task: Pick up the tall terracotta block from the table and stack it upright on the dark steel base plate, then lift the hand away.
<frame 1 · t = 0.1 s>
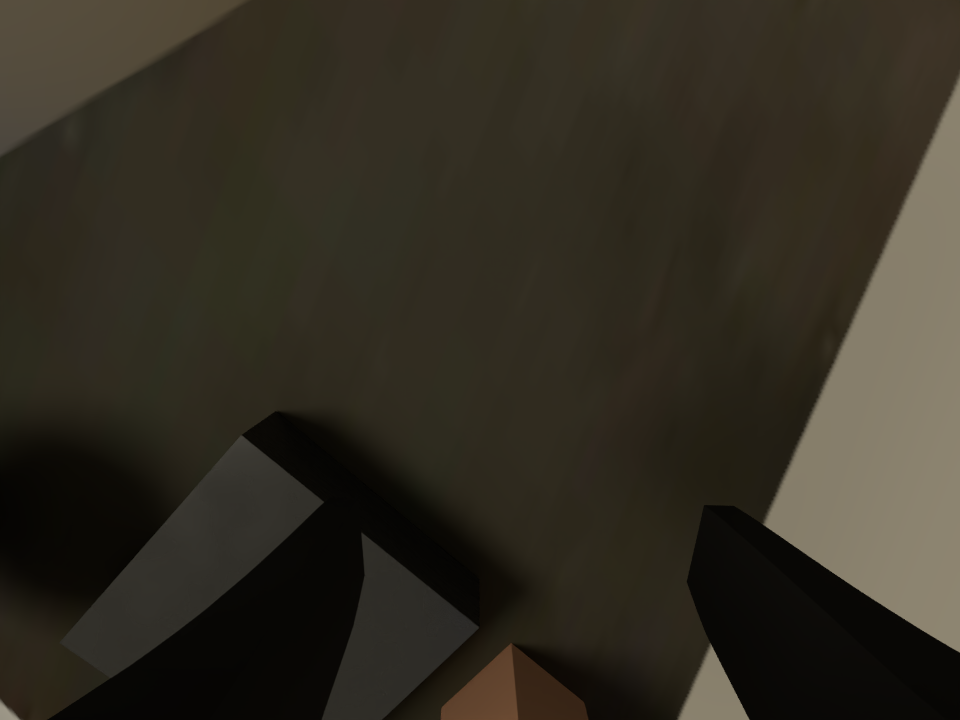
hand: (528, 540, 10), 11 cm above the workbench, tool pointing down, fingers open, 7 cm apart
steel base: (297, 585, 22), on the workbench
terracotta block: (512, 704, 23), on the workbench
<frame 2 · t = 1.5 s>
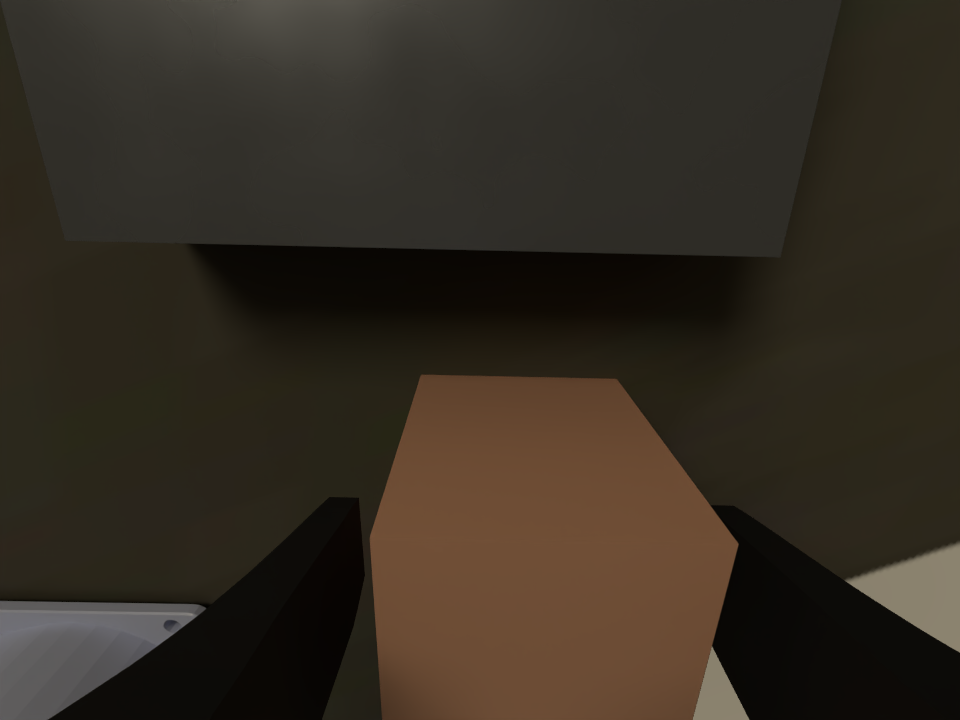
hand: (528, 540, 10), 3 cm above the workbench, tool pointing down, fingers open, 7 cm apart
terracotta block: (514, 460, 13), on the workbench
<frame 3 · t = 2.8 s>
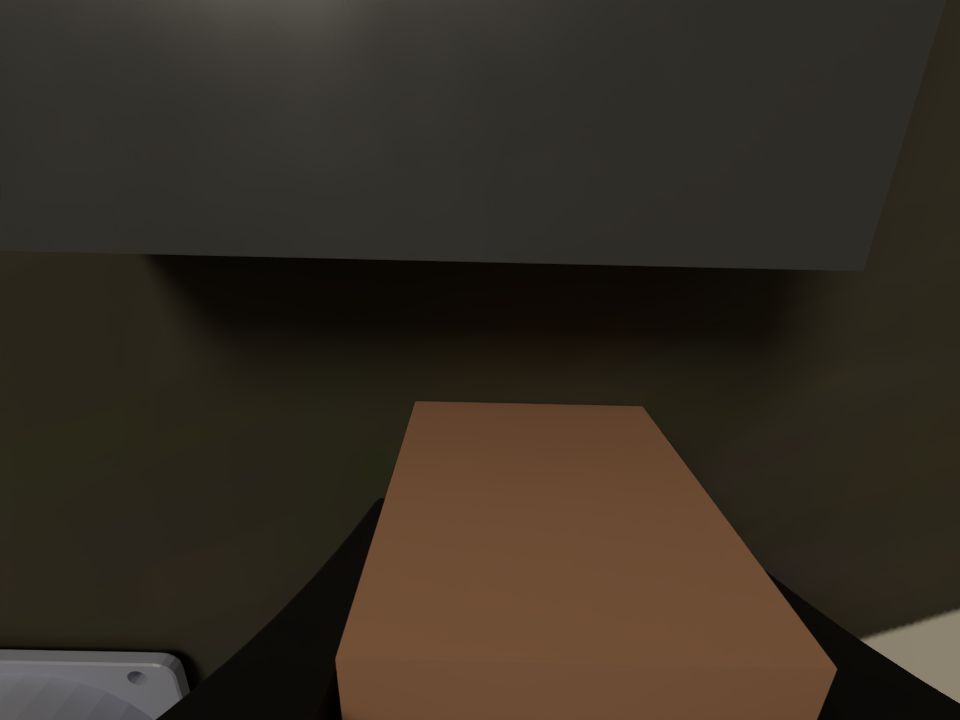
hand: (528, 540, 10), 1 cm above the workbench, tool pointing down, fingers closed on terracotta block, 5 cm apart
terracotta block: (522, 498, 11), on the workbench, touching gripper
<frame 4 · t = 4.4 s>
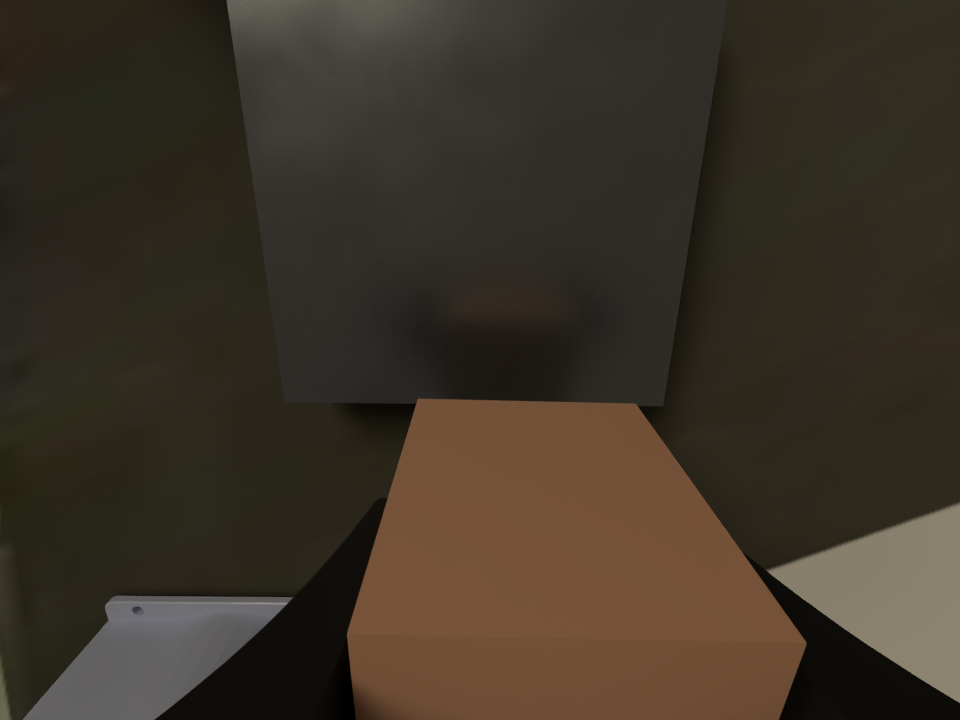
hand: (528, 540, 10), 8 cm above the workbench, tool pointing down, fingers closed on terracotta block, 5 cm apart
steel base: (476, 202, 16), on the workbench
terracotta block: (521, 492, 12), point 7 cm above the workbench, touching gripper
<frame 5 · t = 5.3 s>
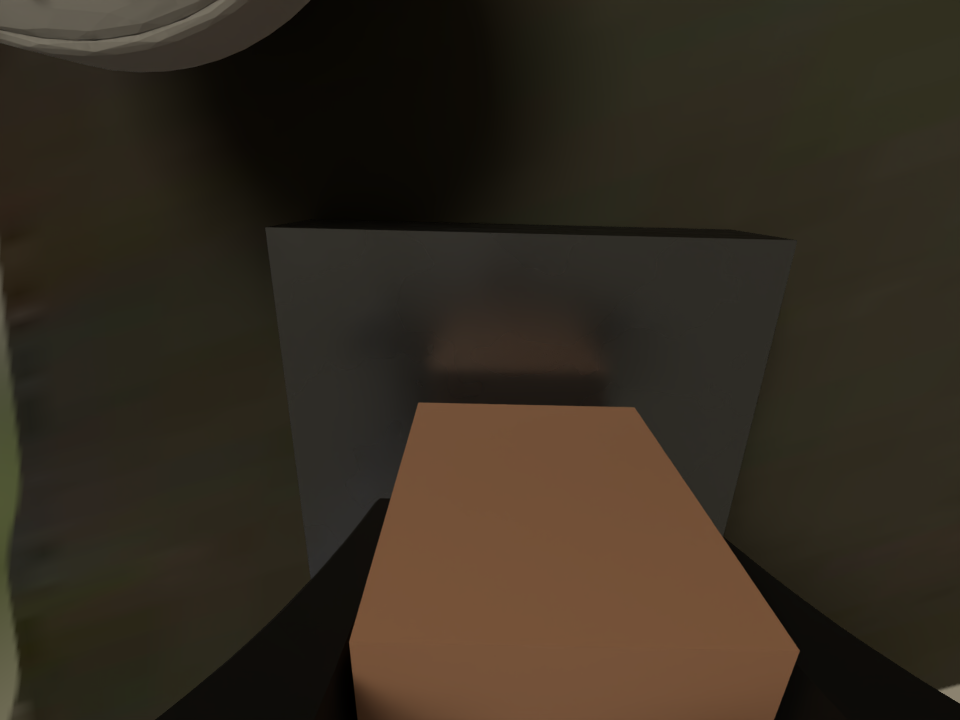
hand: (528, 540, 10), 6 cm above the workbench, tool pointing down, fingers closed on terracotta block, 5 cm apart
steel base: (511, 413, 15), on the workbench
terracotta block: (520, 494, 12), point 4 cm above the workbench, touching gripper
when the fingers open (6 cm above the workbench, at t = 6.2 s): terracotta block stays where it is, resting on steel base.
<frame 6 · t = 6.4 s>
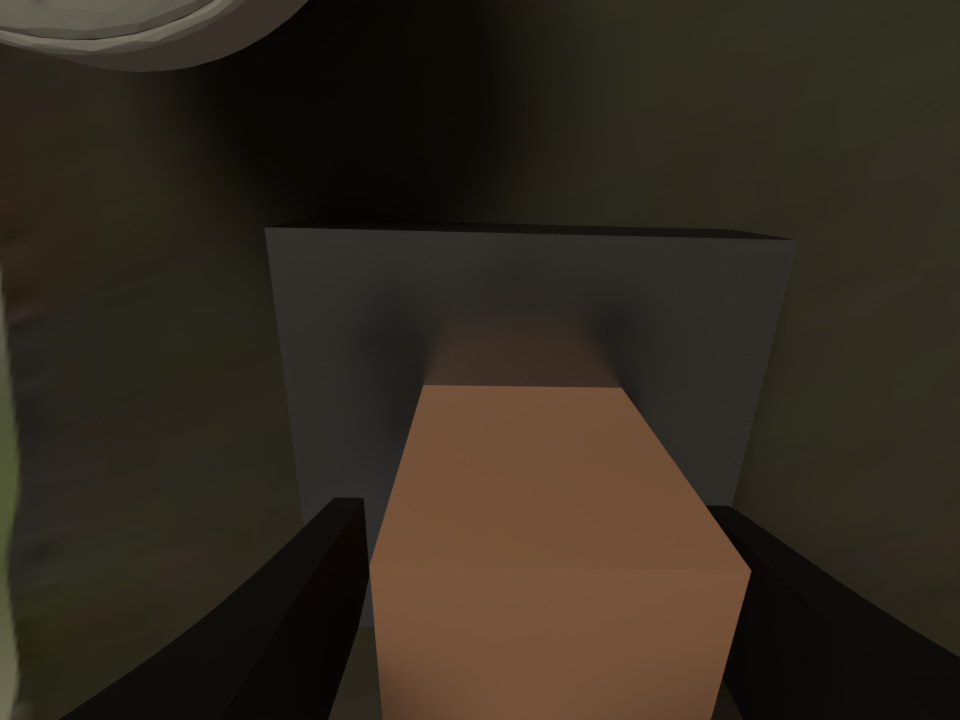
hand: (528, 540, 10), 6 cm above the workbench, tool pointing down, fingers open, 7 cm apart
steel base: (511, 413, 15), on the workbench
terracotta block: (518, 471, 13), point 3 cm above the workbench, touching steel base
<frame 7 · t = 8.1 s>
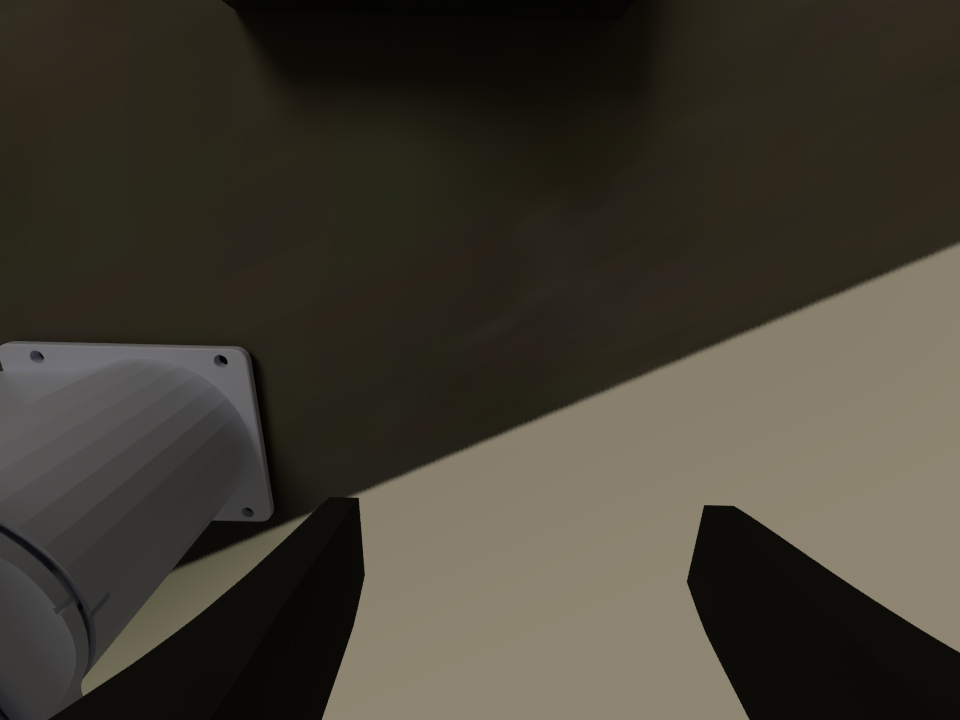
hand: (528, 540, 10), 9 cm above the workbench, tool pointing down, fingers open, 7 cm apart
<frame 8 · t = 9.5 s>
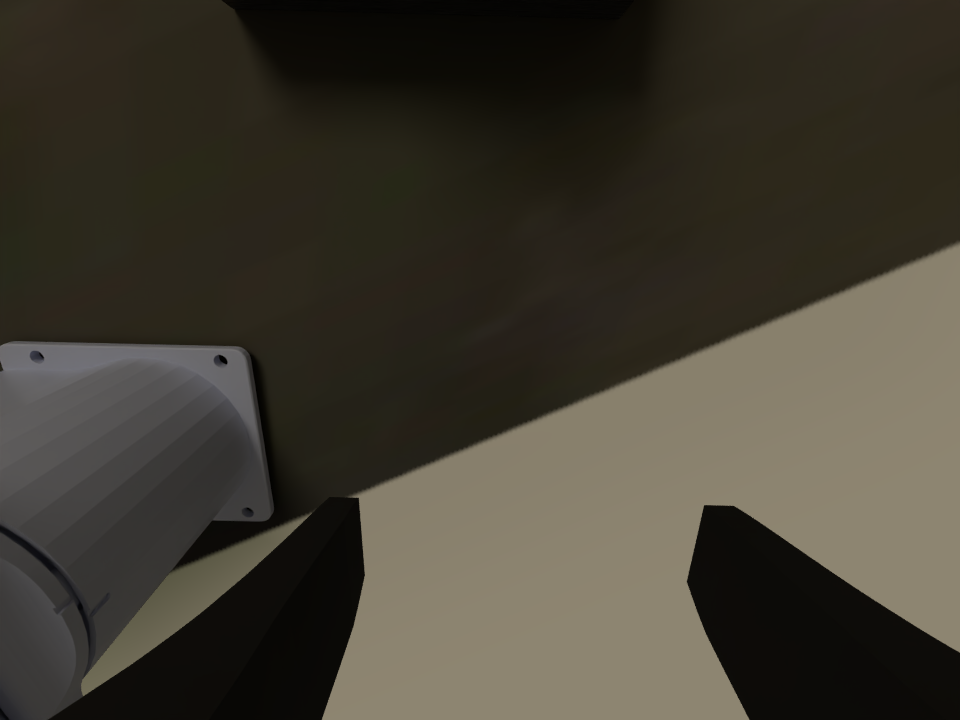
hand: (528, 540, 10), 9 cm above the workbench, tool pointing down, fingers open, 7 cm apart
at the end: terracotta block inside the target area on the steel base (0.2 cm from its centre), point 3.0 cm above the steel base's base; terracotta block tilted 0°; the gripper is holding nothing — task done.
